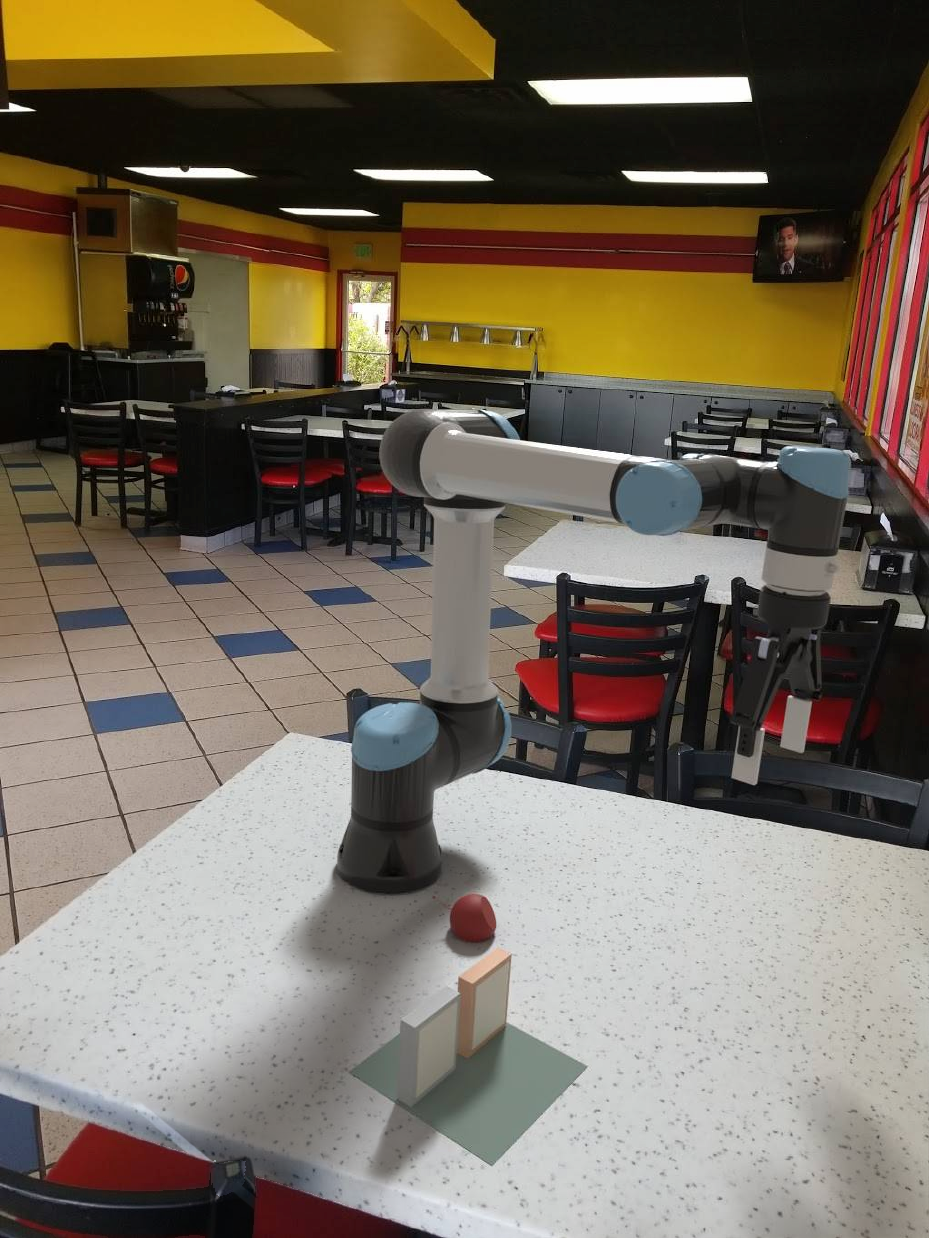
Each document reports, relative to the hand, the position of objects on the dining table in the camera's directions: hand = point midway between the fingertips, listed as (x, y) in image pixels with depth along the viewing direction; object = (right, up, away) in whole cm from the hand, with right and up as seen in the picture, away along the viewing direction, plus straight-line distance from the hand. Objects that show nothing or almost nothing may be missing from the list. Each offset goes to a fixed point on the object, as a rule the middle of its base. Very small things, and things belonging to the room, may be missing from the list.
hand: (769, 764), depth 112 cm
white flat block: (-40, -30, -16) cm, 52 cm away
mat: (-35, -30, -14) cm, 48 cm away
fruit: (-36, -24, +11) cm, 44 cm away
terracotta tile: (-34, -28, -9) cm, 45 cm away
